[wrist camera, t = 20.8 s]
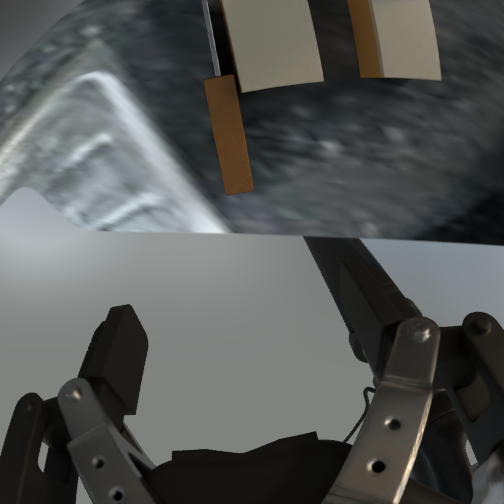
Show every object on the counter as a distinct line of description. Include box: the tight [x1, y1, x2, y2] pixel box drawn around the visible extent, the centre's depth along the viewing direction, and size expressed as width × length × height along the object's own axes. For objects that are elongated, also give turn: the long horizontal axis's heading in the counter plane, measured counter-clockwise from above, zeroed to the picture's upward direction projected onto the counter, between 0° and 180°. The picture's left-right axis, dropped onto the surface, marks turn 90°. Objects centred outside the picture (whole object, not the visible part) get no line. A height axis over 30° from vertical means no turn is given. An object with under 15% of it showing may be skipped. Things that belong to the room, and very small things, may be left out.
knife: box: [202, 0, 254, 196], centre depth 22 cm, size 22×2×4 cm, turn 9°
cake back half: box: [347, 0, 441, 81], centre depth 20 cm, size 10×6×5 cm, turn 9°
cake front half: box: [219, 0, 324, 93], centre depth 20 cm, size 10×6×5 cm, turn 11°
